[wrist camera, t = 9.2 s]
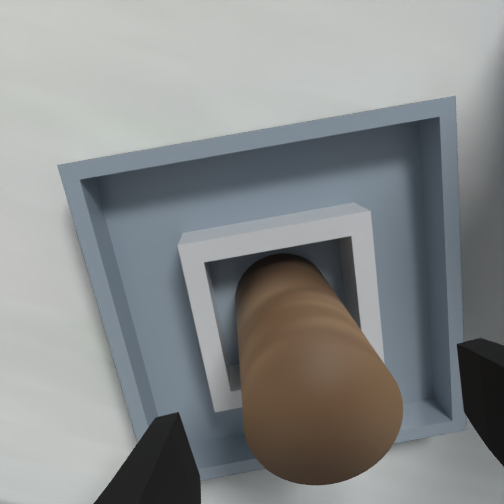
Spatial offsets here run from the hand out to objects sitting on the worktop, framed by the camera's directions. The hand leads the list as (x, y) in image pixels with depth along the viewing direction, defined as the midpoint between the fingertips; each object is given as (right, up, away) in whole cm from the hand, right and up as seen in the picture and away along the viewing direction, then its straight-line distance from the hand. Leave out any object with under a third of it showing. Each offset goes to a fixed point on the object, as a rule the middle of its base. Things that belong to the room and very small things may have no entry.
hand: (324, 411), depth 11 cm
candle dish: (-1, +2, +8) cm, 9 cm away
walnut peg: (-1, +2, +8) cm, 8 cm away
